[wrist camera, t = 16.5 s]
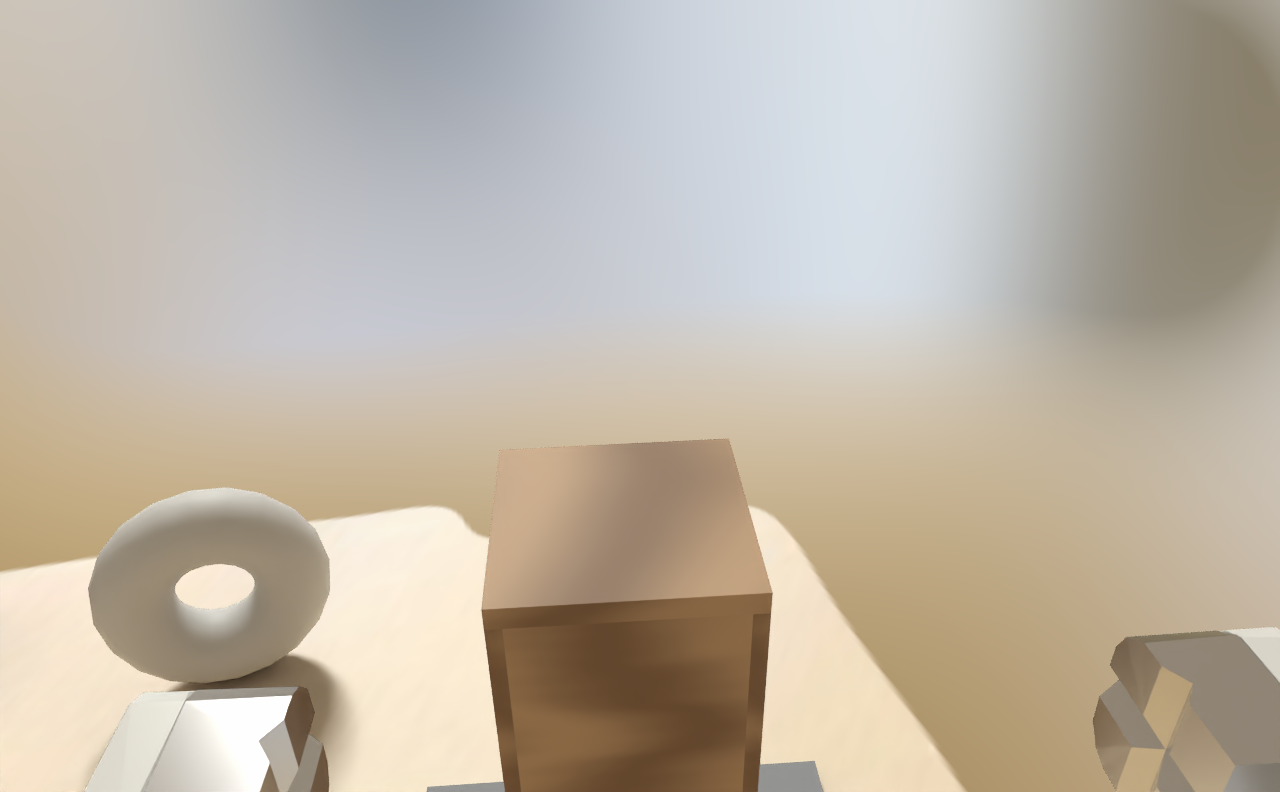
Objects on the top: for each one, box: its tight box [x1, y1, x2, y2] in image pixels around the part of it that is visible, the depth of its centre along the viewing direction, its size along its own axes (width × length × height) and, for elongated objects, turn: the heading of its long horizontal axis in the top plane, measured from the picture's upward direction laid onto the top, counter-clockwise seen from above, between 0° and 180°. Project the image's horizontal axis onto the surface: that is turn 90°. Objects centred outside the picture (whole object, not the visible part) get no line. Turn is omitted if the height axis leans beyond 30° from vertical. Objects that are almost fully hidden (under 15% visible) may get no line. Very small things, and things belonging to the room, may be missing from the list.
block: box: [481, 439, 772, 792], centre depth 28 cm, size 6×6×19 cm
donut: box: [88, 488, 330, 683], centre depth 43 cm, size 10×4×10 cm, turn 112°
